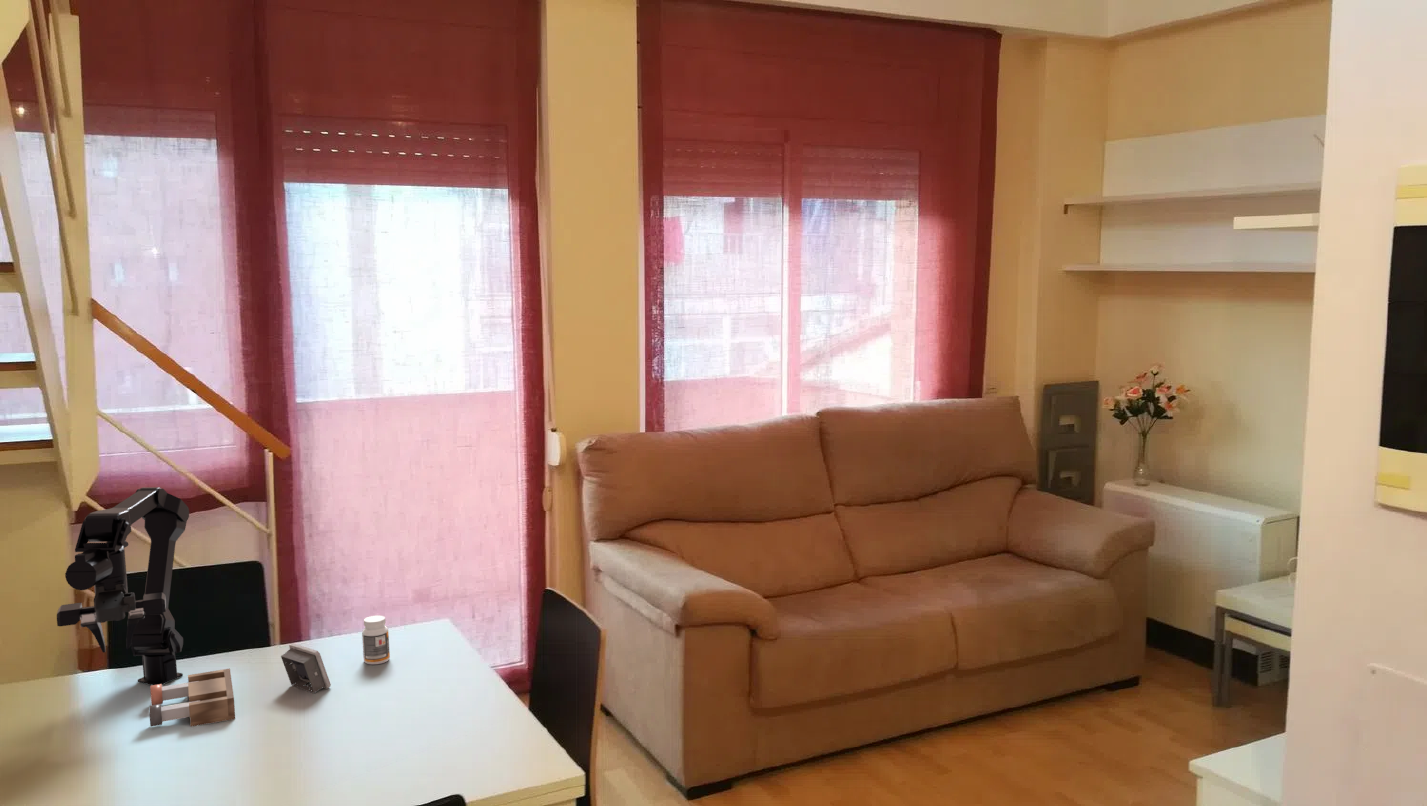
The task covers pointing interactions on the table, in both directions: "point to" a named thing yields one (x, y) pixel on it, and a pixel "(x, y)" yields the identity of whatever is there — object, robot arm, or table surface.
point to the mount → (211, 697)
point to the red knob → (168, 692)
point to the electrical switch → (305, 668)
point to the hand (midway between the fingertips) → (116, 650)
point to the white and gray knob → (168, 712)
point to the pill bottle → (375, 640)
